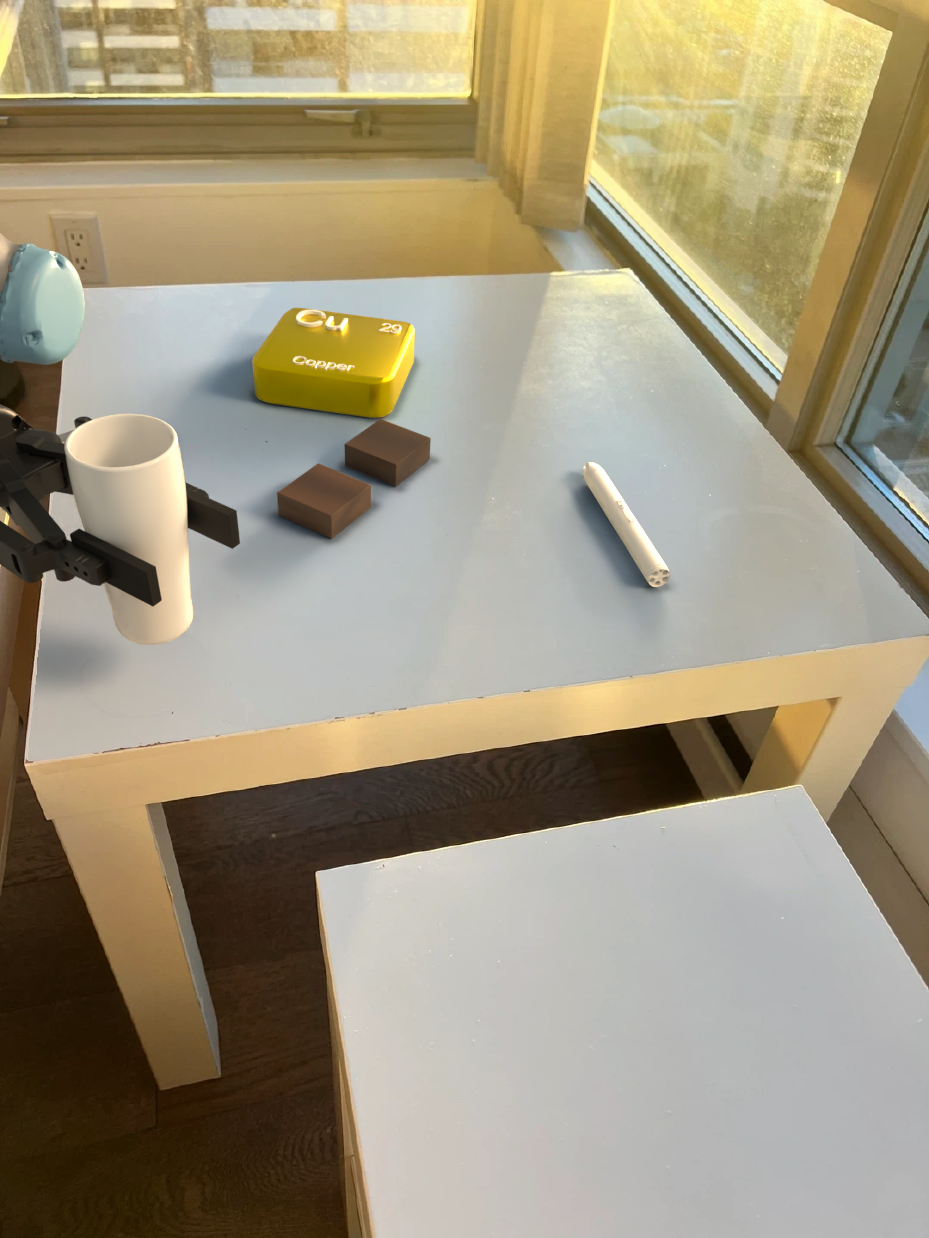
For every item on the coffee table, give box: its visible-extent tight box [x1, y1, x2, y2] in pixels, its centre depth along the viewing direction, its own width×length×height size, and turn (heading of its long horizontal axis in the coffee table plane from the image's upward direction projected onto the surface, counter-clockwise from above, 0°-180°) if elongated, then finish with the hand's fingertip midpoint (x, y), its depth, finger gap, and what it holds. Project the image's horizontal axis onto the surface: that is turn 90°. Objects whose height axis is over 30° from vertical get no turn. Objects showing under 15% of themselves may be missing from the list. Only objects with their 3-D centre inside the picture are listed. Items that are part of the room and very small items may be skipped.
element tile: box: [251, 307, 416, 419], centre depth 104 cm, size 15×15×5 cm
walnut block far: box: [344, 418, 432, 488], centre depth 93 cm, size 6×6×2 cm
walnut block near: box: [276, 463, 372, 540], centre depth 87 cm, size 6×6×2 cm
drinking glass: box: [64, 413, 194, 646], centre depth 63 cm, size 7×7×15 cm
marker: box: [582, 461, 671, 588], centre depth 88 cm, size 18×2×2 cm, turn 15°
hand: (195, 557), depth 61 cm, fingers closed on drinking glass, 7 cm apart
